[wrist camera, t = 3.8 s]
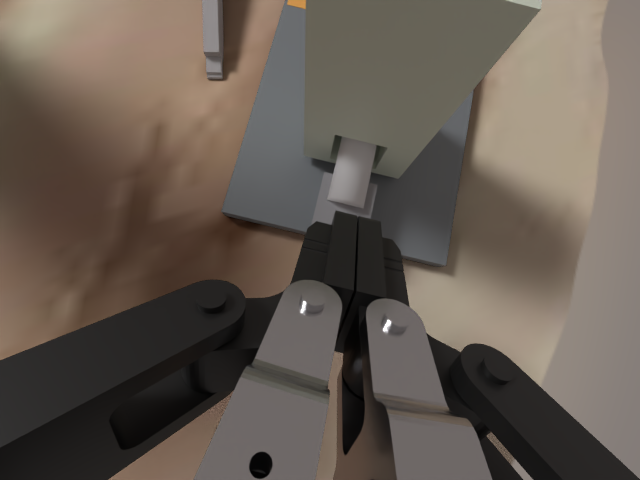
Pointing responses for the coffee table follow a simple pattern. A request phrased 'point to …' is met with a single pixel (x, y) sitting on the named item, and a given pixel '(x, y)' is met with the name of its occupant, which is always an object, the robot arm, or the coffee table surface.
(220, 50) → the caliper
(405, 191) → the pipe rig
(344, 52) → the sage green block
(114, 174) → the coffee table surface
